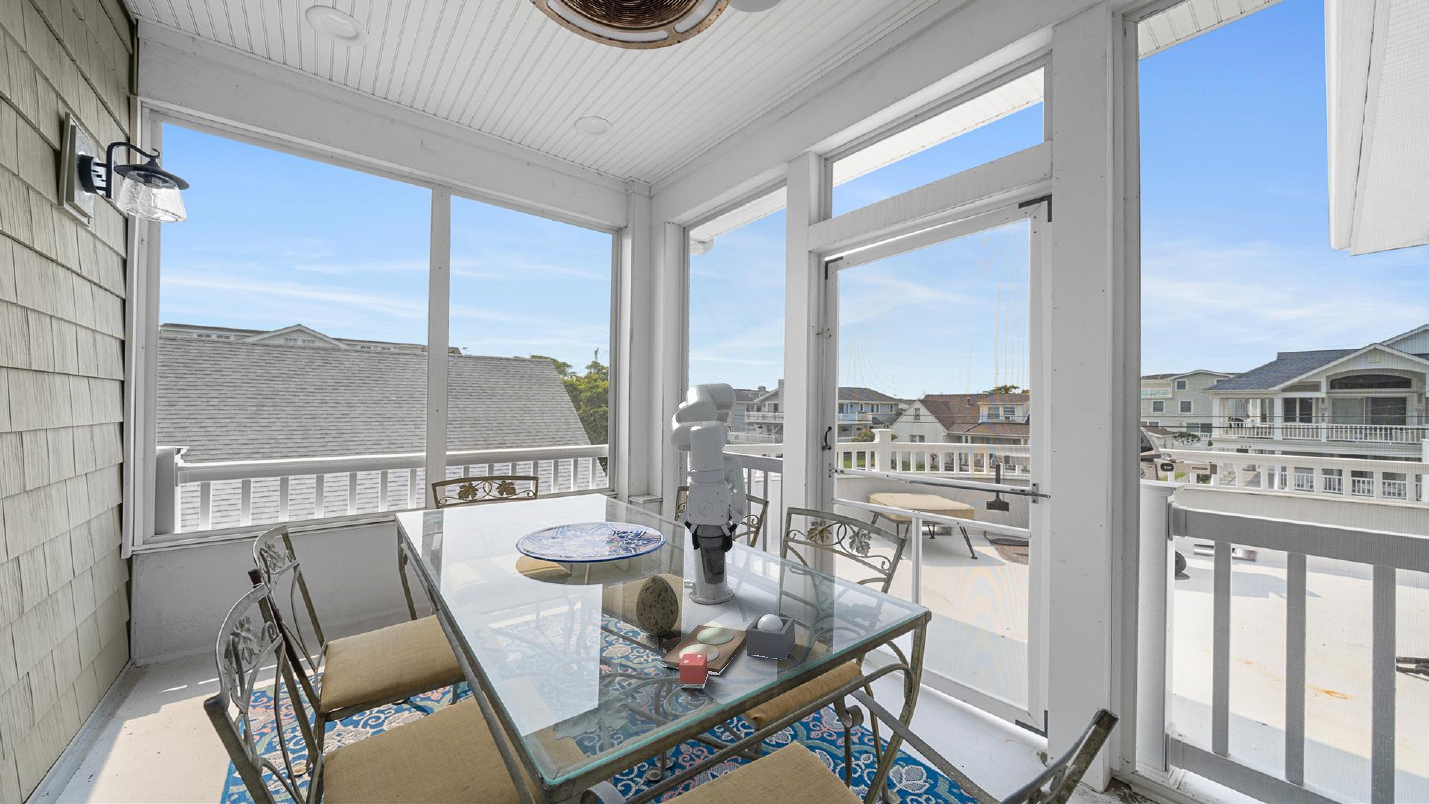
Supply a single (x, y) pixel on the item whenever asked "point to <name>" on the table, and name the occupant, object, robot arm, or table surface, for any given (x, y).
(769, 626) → the white ball
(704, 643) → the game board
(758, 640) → the housing
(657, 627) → the decorative egg
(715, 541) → the beverage cup
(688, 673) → the die
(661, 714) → the table surface
